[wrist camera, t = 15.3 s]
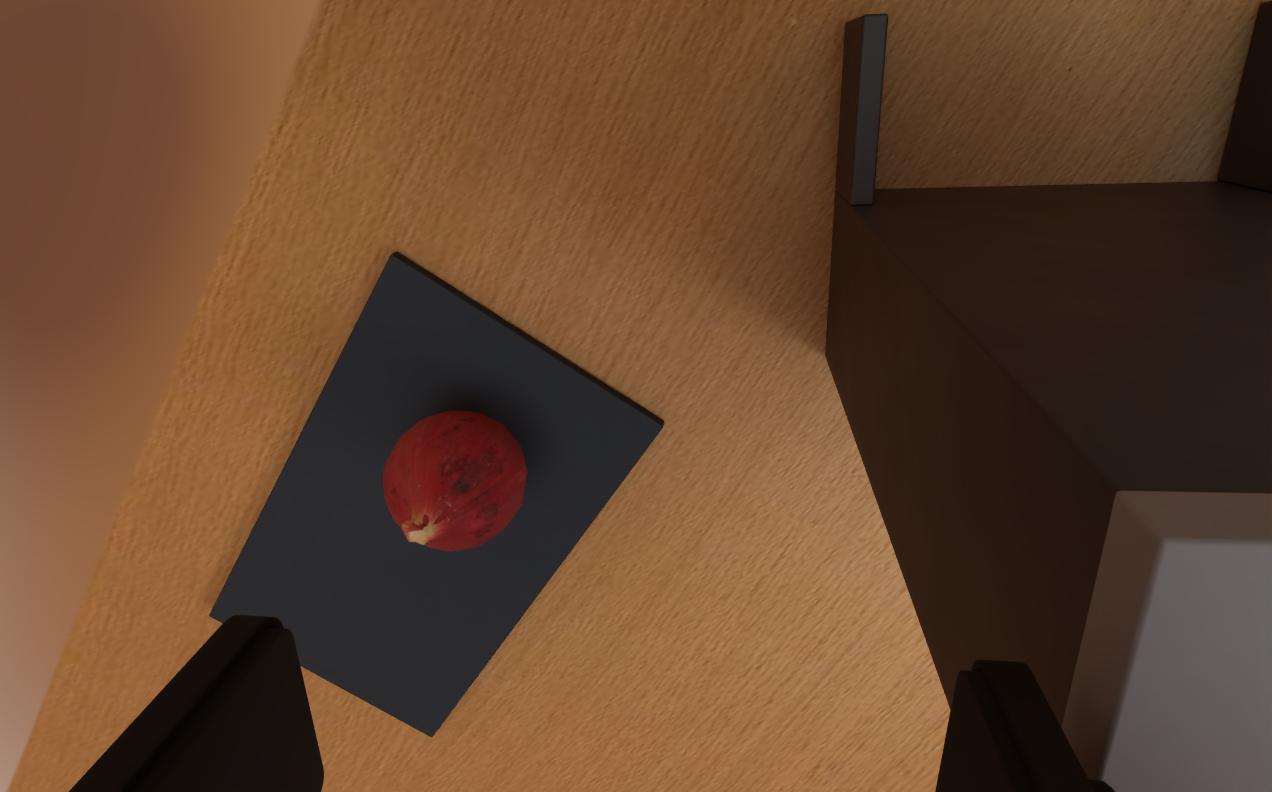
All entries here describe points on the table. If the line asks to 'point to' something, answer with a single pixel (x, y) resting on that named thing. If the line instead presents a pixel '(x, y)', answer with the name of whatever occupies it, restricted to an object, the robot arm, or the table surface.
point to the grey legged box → (1075, 432)
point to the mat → (365, 530)
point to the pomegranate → (454, 480)
